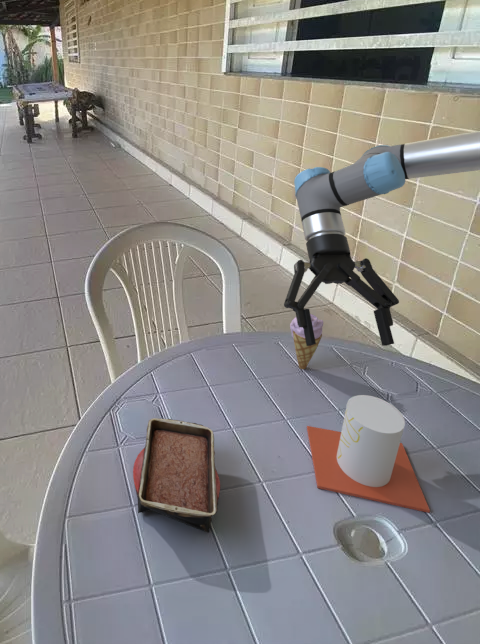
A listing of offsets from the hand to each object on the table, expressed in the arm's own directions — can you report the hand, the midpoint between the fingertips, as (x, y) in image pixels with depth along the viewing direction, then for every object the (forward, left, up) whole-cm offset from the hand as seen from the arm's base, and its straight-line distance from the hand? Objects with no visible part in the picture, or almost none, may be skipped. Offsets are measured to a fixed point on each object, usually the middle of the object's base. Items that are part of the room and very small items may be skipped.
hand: (349, 345), depth 78 cm
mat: (-2, +10, -18) cm, 21 cm away
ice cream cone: (+5, -15, -18) cm, 24 cm away
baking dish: (+29, +23, -18) cm, 41 cm away
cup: (-2, +11, -17) cm, 21 cm away
